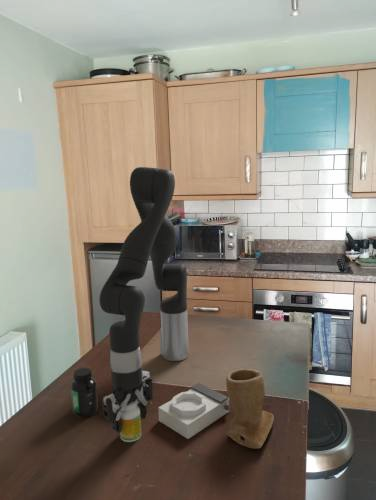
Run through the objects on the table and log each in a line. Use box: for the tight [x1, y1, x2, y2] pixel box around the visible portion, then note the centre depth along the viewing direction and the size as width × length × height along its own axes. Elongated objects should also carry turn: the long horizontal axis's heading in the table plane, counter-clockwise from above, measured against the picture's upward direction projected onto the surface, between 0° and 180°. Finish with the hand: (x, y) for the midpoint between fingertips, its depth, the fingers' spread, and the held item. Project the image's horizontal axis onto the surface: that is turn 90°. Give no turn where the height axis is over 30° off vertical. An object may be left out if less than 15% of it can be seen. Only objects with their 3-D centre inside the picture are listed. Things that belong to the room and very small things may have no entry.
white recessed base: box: [157, 382, 231, 440], centre depth 114 cm, size 16×12×6 cm
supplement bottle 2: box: [119, 400, 142, 443], centre depth 107 cm, size 5×5×10 cm
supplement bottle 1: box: [70, 367, 99, 418], centre depth 118 cm, size 7×7×12 cm
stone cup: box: [225, 368, 275, 450], centre depth 107 cm, size 15×12×15 cm
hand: (130, 424), depth 107 cm, fingers open, 7 cm apart
